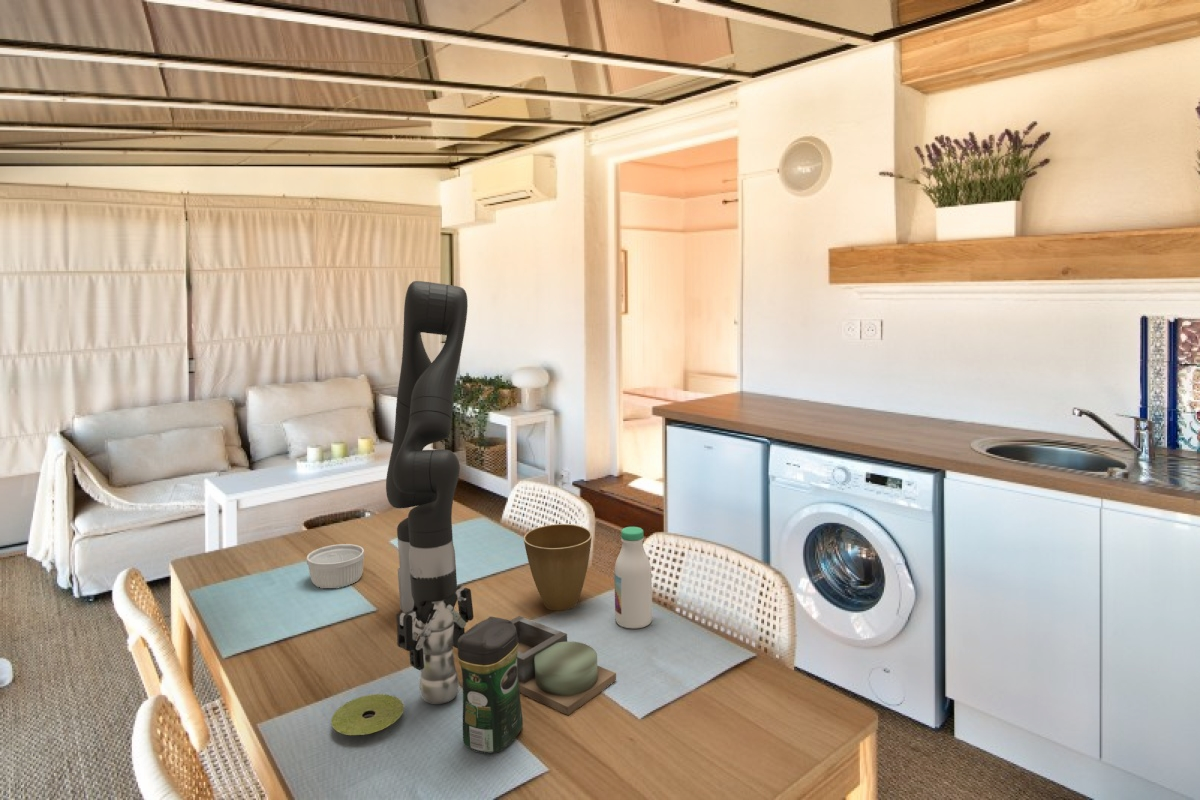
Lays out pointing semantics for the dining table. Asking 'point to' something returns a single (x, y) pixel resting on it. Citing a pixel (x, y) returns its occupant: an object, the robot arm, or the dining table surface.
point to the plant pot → (558, 562)
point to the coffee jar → (490, 685)
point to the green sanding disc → (367, 714)
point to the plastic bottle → (439, 658)
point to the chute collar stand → (557, 667)
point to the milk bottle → (633, 581)
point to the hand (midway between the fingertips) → (438, 657)
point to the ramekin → (336, 565)
